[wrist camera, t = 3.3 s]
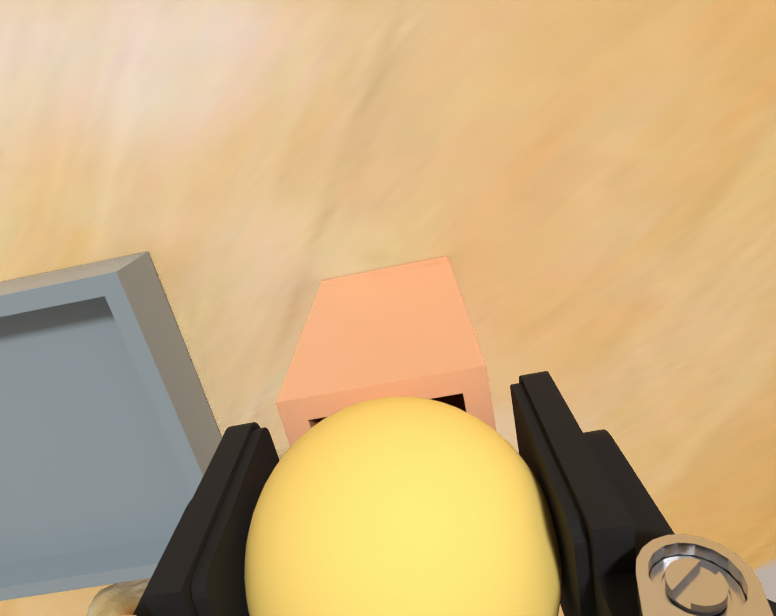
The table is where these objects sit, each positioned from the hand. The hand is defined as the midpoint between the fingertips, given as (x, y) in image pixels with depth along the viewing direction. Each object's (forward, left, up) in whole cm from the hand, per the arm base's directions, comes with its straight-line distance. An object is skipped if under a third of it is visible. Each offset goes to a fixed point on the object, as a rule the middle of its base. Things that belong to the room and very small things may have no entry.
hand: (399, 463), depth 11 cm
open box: (0, 0, -7) cm, 7 cm away
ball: (0, 0, +2) cm, 2 cm away
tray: (+14, +2, -7) cm, 16 cm away
